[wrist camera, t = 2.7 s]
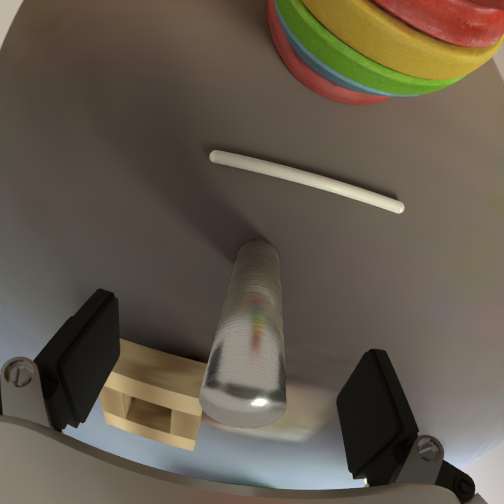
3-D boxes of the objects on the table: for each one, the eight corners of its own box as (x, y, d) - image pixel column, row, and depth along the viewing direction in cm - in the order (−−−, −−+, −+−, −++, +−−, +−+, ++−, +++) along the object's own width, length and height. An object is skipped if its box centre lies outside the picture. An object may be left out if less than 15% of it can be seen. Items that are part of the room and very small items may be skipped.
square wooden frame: (212, 365, 23) (203, 399, 20) (200, 421, 27) (193, 451, 23) (113, 335, 23) (93, 364, 19) (119, 396, 26) (106, 423, 23)
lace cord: (402, 202, 17) (407, 204, 17) (399, 213, 18) (403, 216, 17) (212, 148, 17) (209, 148, 16) (209, 161, 17) (207, 162, 17)
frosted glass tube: (284, 245, 19) (298, 385, 8) (273, 282, 20) (272, 433, 9) (242, 234, 19) (204, 367, 8) (233, 272, 20) (194, 418, 9)
